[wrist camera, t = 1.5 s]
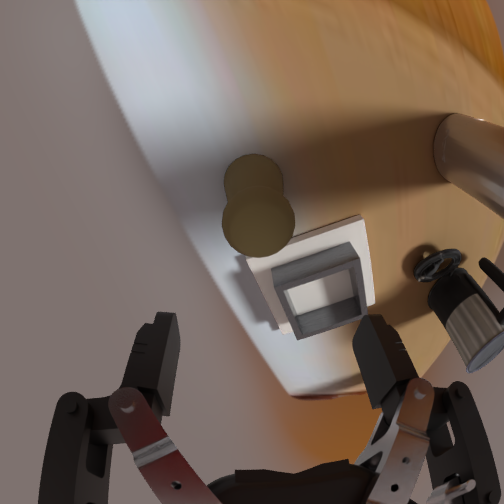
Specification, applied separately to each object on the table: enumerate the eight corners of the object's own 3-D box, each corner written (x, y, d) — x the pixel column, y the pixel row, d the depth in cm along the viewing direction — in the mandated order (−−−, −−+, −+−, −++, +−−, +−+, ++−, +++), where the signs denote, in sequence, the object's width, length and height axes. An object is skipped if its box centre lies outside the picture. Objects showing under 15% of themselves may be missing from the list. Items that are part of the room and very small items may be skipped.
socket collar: (349, 241, 30) (360, 258, 27) (359, 298, 35) (368, 316, 32) (270, 268, 32) (273, 287, 29) (293, 320, 37) (297, 340, 34)
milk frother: (452, 308, 40) (489, 367, 28) (388, 313, 39) (424, 390, 26) (484, 242, 33) (538, 298, 20) (421, 235, 31) (485, 309, 19)
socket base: (359, 214, 30) (363, 219, 29) (372, 298, 37) (375, 303, 36) (245, 254, 32) (246, 259, 31) (281, 328, 39) (282, 334, 38)
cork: (271, 216, 30) (285, 279, 20) (216, 200, 28) (204, 259, 19) (291, 164, 26) (319, 207, 17) (233, 146, 25) (228, 178, 16)
